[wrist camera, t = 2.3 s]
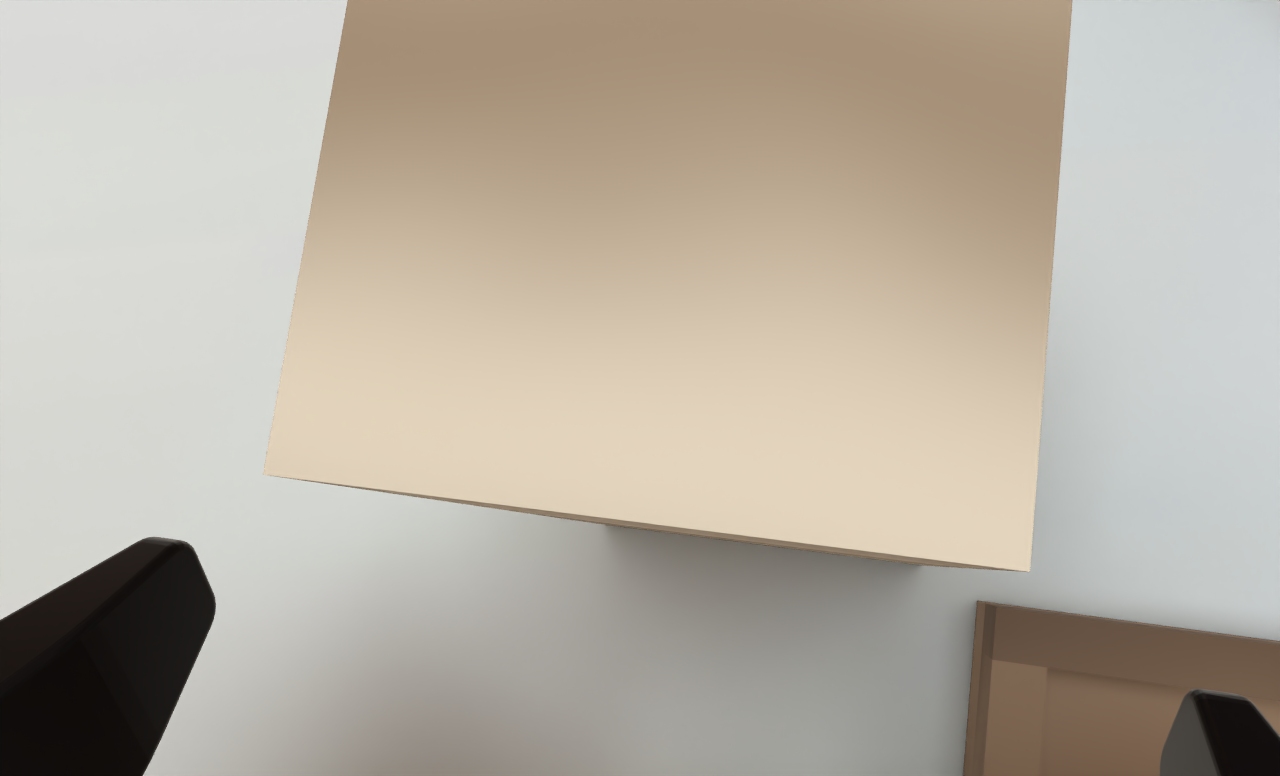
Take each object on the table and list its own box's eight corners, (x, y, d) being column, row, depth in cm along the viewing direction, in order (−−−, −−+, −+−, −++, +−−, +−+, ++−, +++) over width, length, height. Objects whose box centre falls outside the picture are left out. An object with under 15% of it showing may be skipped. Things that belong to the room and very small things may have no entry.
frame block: (927, 566, 19) (1044, 574, 7) (604, 524, 20) (262, 474, 8) (951, 299, 19) (1092, -87, 8) (637, 276, 21) (362, -83, 9)
